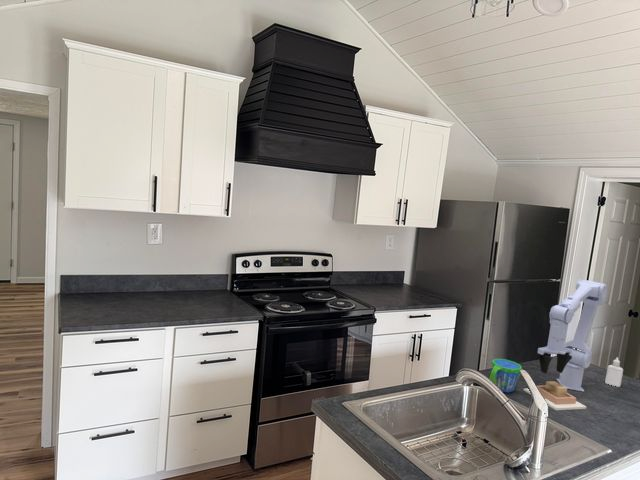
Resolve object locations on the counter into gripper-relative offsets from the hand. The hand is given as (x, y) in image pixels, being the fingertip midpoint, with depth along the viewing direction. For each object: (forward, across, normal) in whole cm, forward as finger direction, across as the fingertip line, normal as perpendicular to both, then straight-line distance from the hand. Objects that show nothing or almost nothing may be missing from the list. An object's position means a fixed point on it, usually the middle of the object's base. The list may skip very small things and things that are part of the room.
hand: (551, 372), depth 174 cm
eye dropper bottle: (+10, +42, +7) cm, 44 cm away
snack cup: (+10, -15, +7) cm, 19 cm away
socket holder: (+9, 0, -3) cm, 10 cm away
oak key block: (+9, 0, -3) cm, 9 cm away
